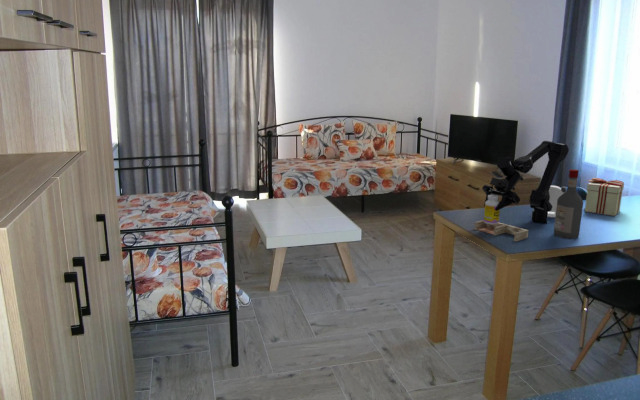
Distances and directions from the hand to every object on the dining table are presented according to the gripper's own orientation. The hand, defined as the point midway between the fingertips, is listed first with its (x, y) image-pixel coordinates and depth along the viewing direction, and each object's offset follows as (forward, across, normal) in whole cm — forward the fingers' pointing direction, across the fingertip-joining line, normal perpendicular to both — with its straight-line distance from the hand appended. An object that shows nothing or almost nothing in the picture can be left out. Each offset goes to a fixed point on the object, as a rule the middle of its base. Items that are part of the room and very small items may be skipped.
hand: (490, 208), depth 243 cm
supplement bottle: (+4, 0, +6) cm, 7 cm away
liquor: (-10, +21, +27) cm, 35 cm away
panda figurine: (-27, -6, +44) cm, 52 cm away
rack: (+6, +5, +9) cm, 12 cm away
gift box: (-48, +1, +65) cm, 81 cm away
